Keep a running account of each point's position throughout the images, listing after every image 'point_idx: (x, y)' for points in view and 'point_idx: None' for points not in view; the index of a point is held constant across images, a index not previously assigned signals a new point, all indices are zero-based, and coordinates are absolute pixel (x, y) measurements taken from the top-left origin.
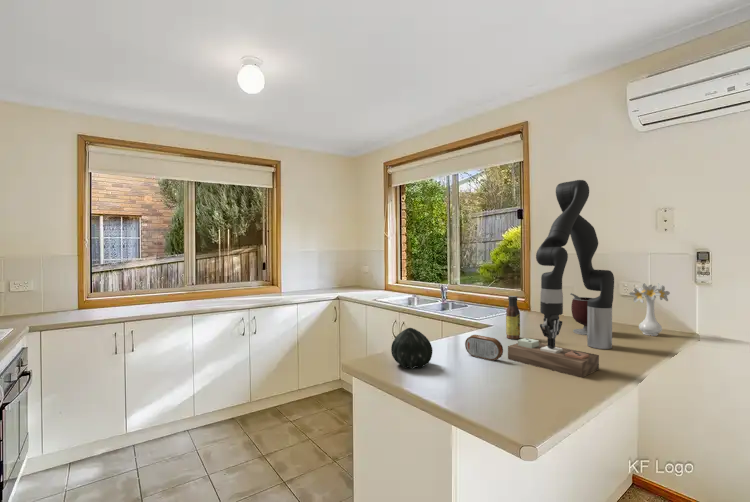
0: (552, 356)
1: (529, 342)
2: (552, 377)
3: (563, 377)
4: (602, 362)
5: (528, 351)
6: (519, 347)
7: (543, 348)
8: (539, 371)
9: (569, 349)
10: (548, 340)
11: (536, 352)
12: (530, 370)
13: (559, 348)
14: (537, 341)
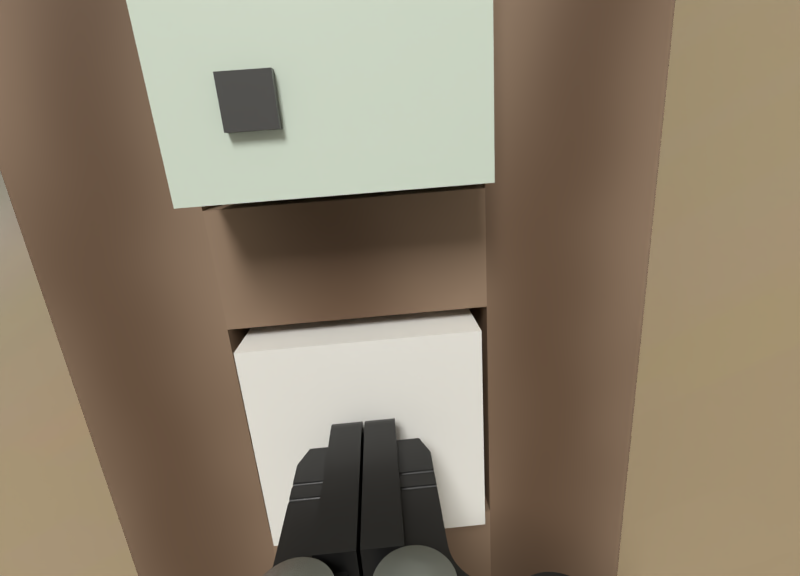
0: (138, 561)
1: (163, 157)
2: (46, 536)
3: (130, 571)
4: (756, 535)
5: (41, 257)
6: (40, 23)
7: (263, 387)
8: (65, 408)
9: (603, 514)
10: (285, 546)
11: (73, 383)
12: (2, 350)
13: (462, 499)
14: (425, 187)
